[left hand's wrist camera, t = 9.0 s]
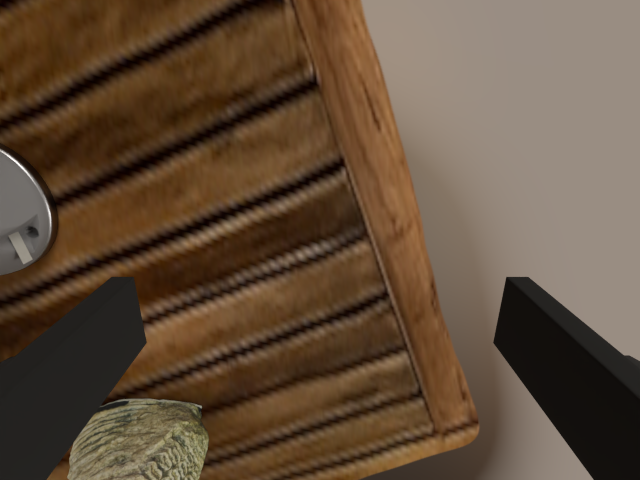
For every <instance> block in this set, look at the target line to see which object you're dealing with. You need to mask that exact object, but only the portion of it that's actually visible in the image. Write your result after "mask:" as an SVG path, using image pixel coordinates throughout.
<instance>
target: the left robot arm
mask: <svg viewBox="0 0 640 480" xmlns="http://www.w3.org/2000/svg"><path fill="white" fill-rule="evenodd" d="M57 229H58V215H57V209H56V205H55V202H54V199H53V196H52V194H51V192H50V190H49V188H48V186H47V185H46V183H45V181H44V180H43V179H42V177H41V176H40V175H39V173H38V172H37V171H36V170H35V169H34V168H33V166H32V165H31V164H30V163H28V162H27V161H26V160H25V159H24V158H23V157H21V156H20V155H19V154H18V153H16V152H15V151H13V150H12V149H10V148H8V147H6V146H5V145H3V144H1V143H0V275H4V274H9V273H12V272H15V271H18V270H21V269H23V268H25V267H27V266H29V265H31V264H33V263H35V262H36V261H38V260H39V259H41V258H42V257H43V256H44V255H45V254H46V253H47V252H48V251H49V250H50V248H51V246H52V245H53V243H54V240H55V238H56V234H57ZM146 343H147V342H146V337H145V332H144V327H143V322H142V317H141V312H140V307H139V302H138V297H137V292H136V287H135V282H134V277H111V278H110V279H109V280H108V281H106V282H105V283H104V284H103V285H101V286H100V287H99V288H98V289H97V290H95V291H94V292H93V293H92V294H90V295H89V296H88V297H87V298H86V299H84V300H83V301H82V302H81V303H80V304H78V305H77V306H76V307H75V308H73V309H72V310H71V311H70V312H69V313H67V314H66V315H65V316H64V317H62V318H61V319H60V320H59V321H58V322H56V323H55V324H54V325H53V326H51V327H50V328H49V329H48V330H47V331H45V332H44V333H43V334H42V335H41V336H39V337H38V338H37V339H36V340H34V341H33V342H32V343H31V344H30V345H28V346H27V347H26V348H25V349H23V350H22V351H21V352H20V353H19V354H17V355H16V356H15V357H10V358H8V359H6V360H4V361H3V362H1V363H0V480H46V479H47V478H48V477H49V475H50V474H51V472H52V471H53V470H54V468H55V467H56V466H57V464H58V463H59V462H60V460H61V459H62V457H63V456H64V455H65V453H66V452H67V451H68V449H69V448H70V447H71V445H72V444H73V442H74V441H75V440H76V438H77V437H78V436H79V434H80V433H81V432H82V430H83V429H84V427H85V426H86V425H87V423H88V422H89V421H90V419H91V418H92V417H93V415H94V414H95V412H96V411H97V410H98V408H99V407H100V406H101V404H102V403H103V402H104V400H105V399H106V397H107V396H108V395H109V393H110V392H111V391H112V389H113V388H114V387H115V385H116V384H117V382H118V381H119V380H120V378H121V377H122V376H123V374H124V373H125V372H126V370H127V369H128V367H129V366H130V365H131V363H132V362H133V361H134V359H135V358H136V357H137V355H138V354H139V352H140V351H141V350H142V348H143V347H144V346H145V344H146ZM493 343H494V344H495V346H496V347H497V348H498V350H499V351H500V352H501V354H502V355H503V357H504V358H505V359H506V361H507V362H508V363H509V365H510V366H511V367H512V369H513V370H514V372H515V373H516V374H517V376H518V377H519V378H520V380H521V381H522V382H523V384H524V385H525V387H526V388H527V389H528V391H529V392H530V393H531V395H532V396H533V397H534V399H535V400H536V402H537V403H538V404H539V406H540V407H541V408H542V410H543V411H544V412H545V414H546V415H547V417H548V418H549V419H550V421H551V422H552V423H553V425H554V426H555V427H556V429H557V430H558V432H559V433H560V434H561V436H562V437H563V438H564V440H565V441H566V442H567V444H568V445H569V447H570V448H571V449H572V451H573V452H574V453H575V455H576V456H577V457H578V459H579V460H580V462H581V463H582V464H583V466H584V467H585V468H586V470H587V471H588V472H589V474H590V475H591V476H592V478H593V479H594V480H640V361H638V360H636V359H635V358H633V357H631V356H624V355H623V354H621V353H620V352H619V351H618V350H617V349H615V348H614V347H613V346H612V345H610V344H609V343H608V342H607V341H606V340H604V339H603V338H602V337H601V336H599V335H598V334H597V333H596V332H595V331H593V330H592V329H591V328H590V327H589V326H587V325H586V324H585V323H584V322H582V321H581V320H580V319H579V318H578V317H576V316H575V315H574V314H573V313H571V312H570V311H569V310H568V309H567V308H565V307H564V306H563V305H562V304H560V303H559V302H558V301H557V300H556V299H554V298H553V297H552V296H551V295H550V294H548V293H547V292H546V291H545V290H543V289H542V288H541V287H540V286H539V285H537V284H536V283H535V282H534V281H532V280H531V279H530V278H529V277H506V282H505V287H504V292H503V297H502V302H501V307H500V312H499V317H498V322H497V327H496V332H495V337H494V342H493Z"/></svg>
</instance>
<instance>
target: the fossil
mask: <svg viewBox="0 0 640 480" xmlns="http://www.w3.org/2000/svg"><path fill="white" fill-rule="evenodd" d="M201 408H202V406H199V405H197V404H193V403H185V402H180V401H172V400H164V399H163V400H155V399H123V400H118V401H115V402H112V403H108V404H106V405H104V406H100V407H99V408H98V410H97V411H96V412H95V414H94V415H93V417H92V418H91V419H90V421H89V422H88V423H87V425H86V426H85V427H84V429H83V430H82V432H81V433H80V434H79V436H78V437H77V438H76V440H75V441H74V443H73V448H72V451H71V453H70V454H71V456H70V459H69V462H70V469H69V474H68V476H67V478H68V479H69V480H198V479H199V475H200V473H201V470H202V467H203V464H204V460H205V456H206V453H207V448H208V442H209V436H208V432H207V430H206V429H205V427H204V426H203V424H202V422H201V421H200V420H201V416H202V415H201Z"/></svg>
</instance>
